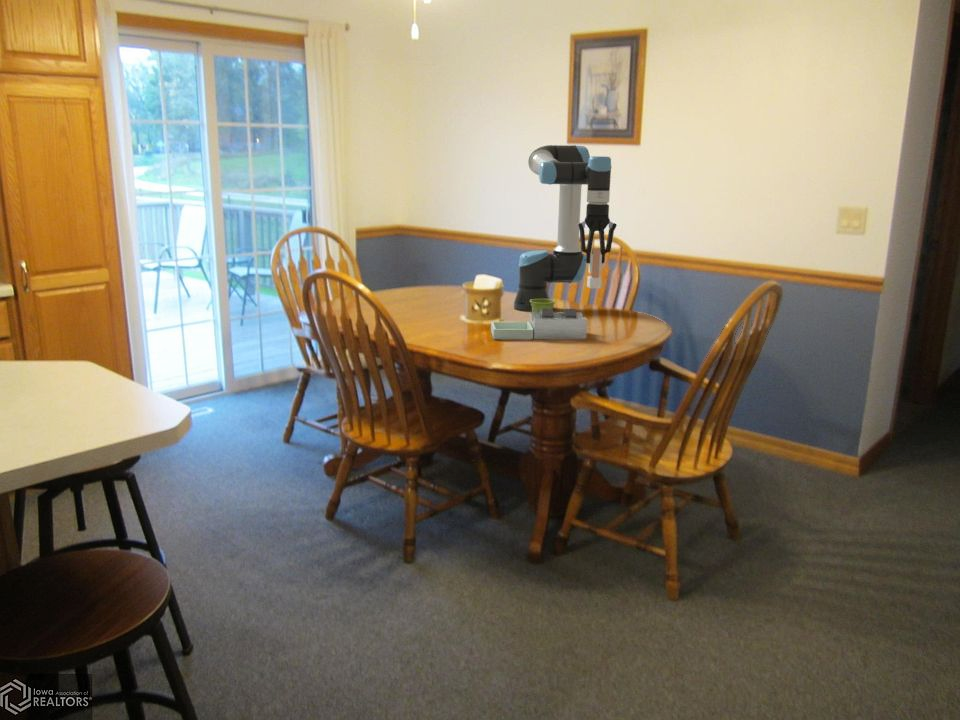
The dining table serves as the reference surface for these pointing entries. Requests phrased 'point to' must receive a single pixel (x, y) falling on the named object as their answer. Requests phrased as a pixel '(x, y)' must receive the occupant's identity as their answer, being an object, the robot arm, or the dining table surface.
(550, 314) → the chip
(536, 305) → the plant pot
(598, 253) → the scraper
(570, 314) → the grey cube
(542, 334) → the slot block
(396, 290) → the dining table surface
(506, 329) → the tray
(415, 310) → the dining table surface
